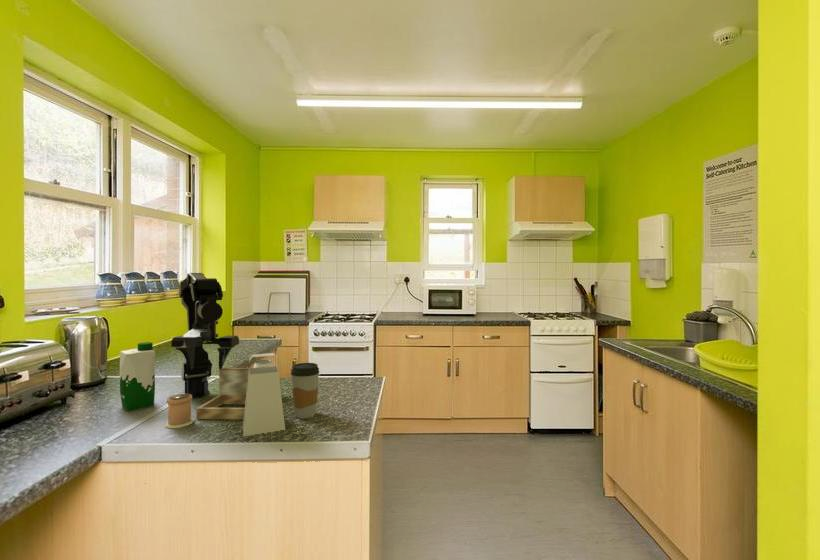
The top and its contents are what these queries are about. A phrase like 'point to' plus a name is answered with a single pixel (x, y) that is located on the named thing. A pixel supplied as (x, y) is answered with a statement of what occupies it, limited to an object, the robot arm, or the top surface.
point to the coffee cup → (305, 389)
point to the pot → (179, 409)
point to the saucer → (178, 425)
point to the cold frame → (227, 395)
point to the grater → (263, 400)
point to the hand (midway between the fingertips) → (205, 368)
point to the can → (263, 363)
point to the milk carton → (137, 377)
